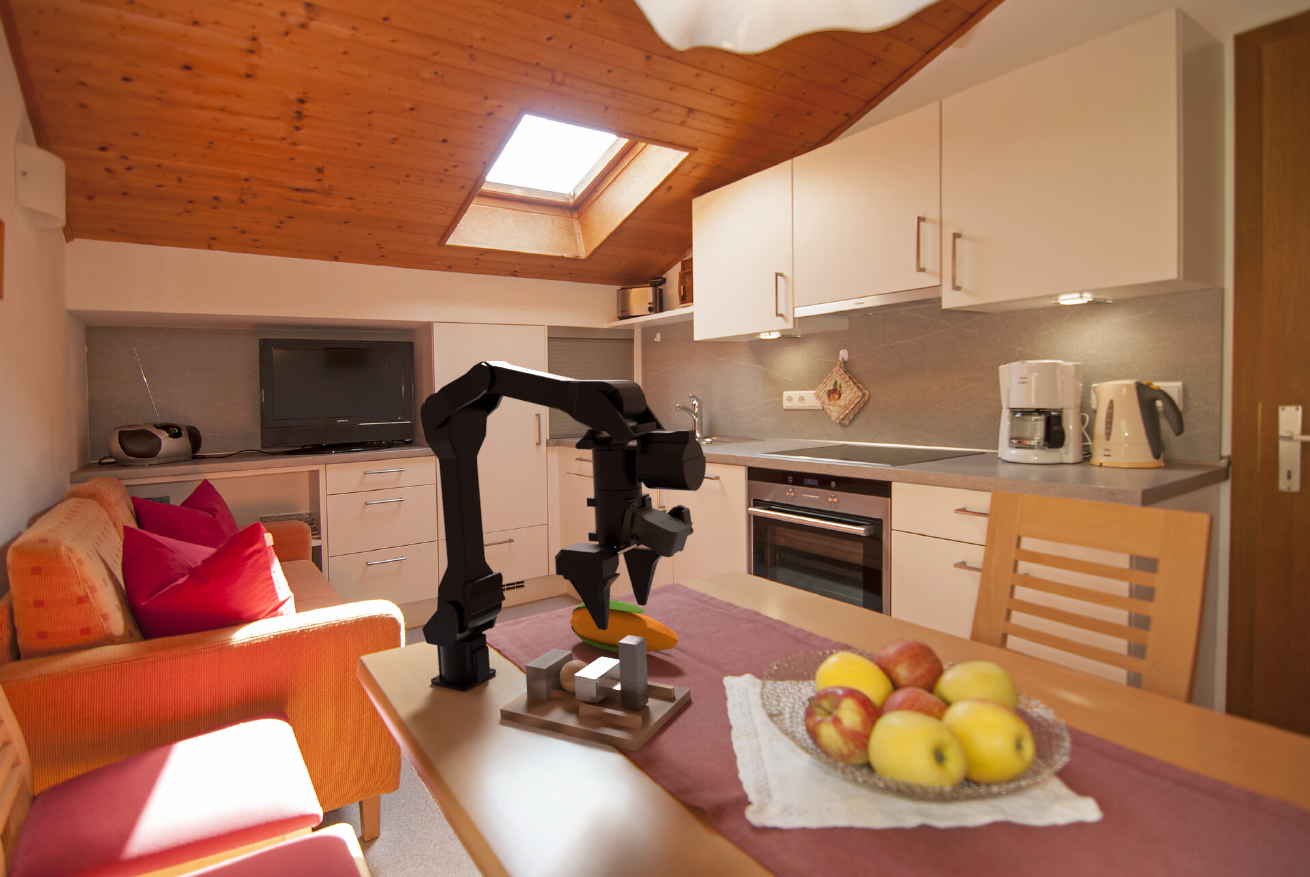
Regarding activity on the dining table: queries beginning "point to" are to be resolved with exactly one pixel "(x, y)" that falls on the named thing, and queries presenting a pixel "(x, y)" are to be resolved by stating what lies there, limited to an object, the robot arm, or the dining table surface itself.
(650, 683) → the base
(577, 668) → the tan wooden ball
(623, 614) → the corn
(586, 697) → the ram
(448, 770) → the dining table surface
